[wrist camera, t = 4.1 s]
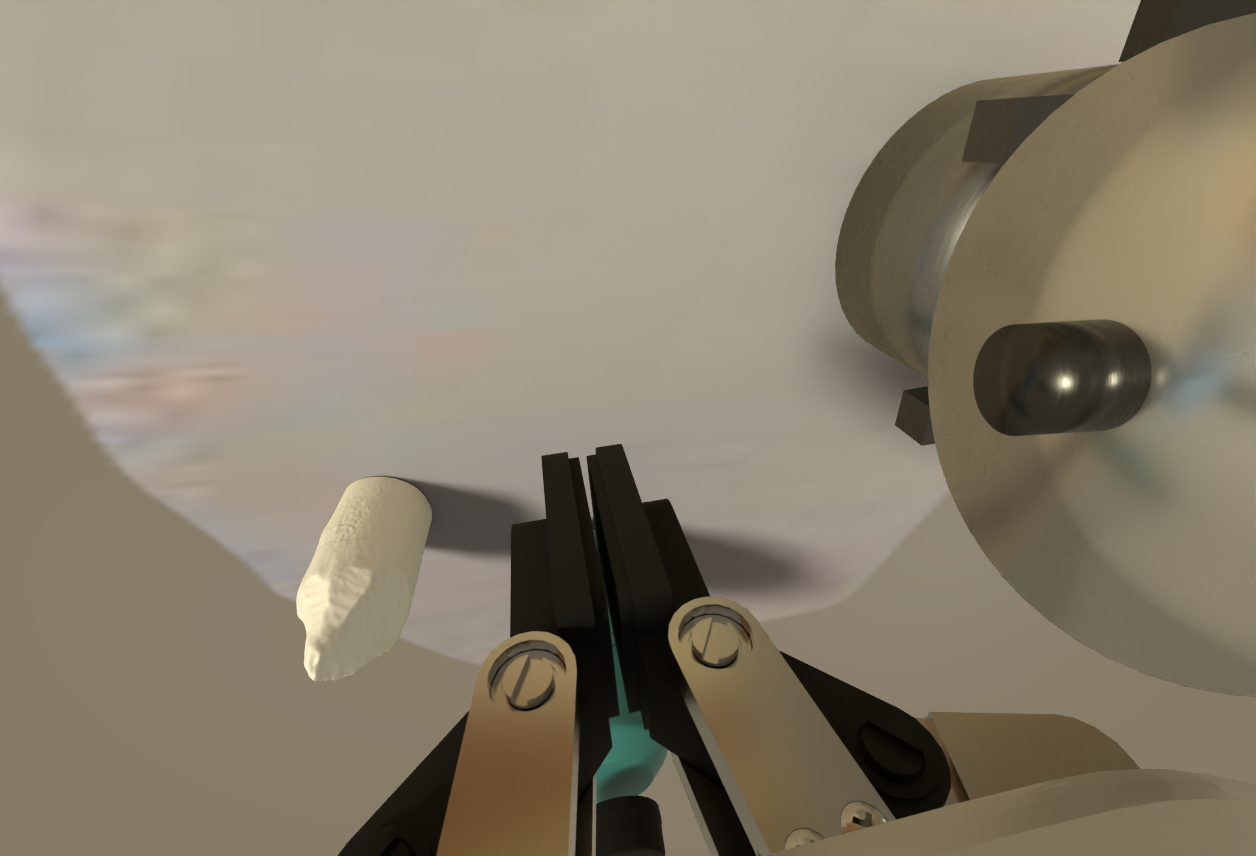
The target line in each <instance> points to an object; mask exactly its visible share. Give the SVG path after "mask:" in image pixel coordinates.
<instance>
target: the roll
mask: <svg viewBox="0 0 1256 856" xmlns="http://www.w3.org/2000/svg"><path fill="white" fill-rule="evenodd" d="M431 522H432V509H431V507H430V504H429V503H428V501H427V499H426V497H425V496H424V495H423V494H422V492H421V491H419V490H418V489H417V488H416V487H414V486H413V485H411V484H409V483H407V482H405V481H401V480H398V479H395V478H389V477H368V478H363V479H360V480H357V481H355V482H353V483H352V484H351V485H349V486H348V487H347V489H346V490H345V492H344V494H343V497H342V498H341V500H340V502H339V504H338V506H337V509H336V511H335V512H334V514H333V516H332V518H331V519H330V521H329V523H328V524H327V526H326V527H325V529H324V531H323V532H322V535H321V538H320V542H319V545H318V547H317V550H316V552H315V555H314V557H313V559H312V562H311V564H310V566H309V568H308V570H307V572H306V574H305V576H304V578H303V580H302V582H301V584H300V587H299V590H298V593H297V599H296V600H297V615H298V617H299V618H300V619H301V620H302V621H303V623H304V624H305V628H306V632H307V638H306V643H305V651H304V653H305V654H304V655H305V660H304V666H305V668H306V670H307V672H308V674H309V677H310V678H311V679H313V680H314V681H324V680H330V679H333V681H336V680H338V679H339V678H340V677H342V676H344V677H345V676H348V675H352V674H354V673H355V672H356V671H357V670H359V669H360V668H361V667H362V666H364V665H365V664H367V663H369V661H370V660H371V659H373V658H376V657H378V656H379V655H381V654H383V653H385V652H387V651H388V650H389V649H391V648H393V646H394V645H395V643H396V641H397V639H398V637H399V635H400V633H401V630H402V628H403V626H404V624H405V621H406V619H407V617H408V614H409V611H410V607H411V603H412V599H413V595H414V592H415V587H416V583H417V578H418V574H419V570H420V566H421V562H422V557H423V553H424V548H425V544H426V540H427V536H428V532H429V528H430V525H431Z"/></svg>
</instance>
